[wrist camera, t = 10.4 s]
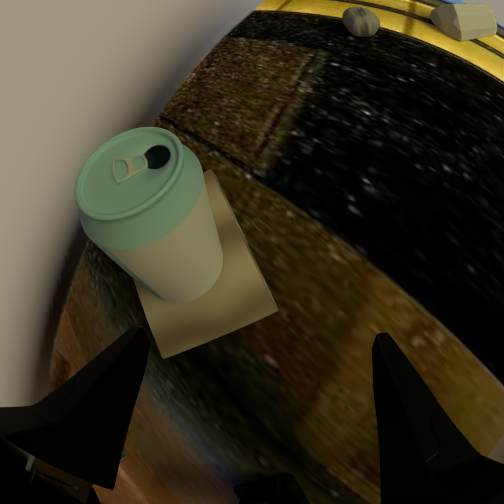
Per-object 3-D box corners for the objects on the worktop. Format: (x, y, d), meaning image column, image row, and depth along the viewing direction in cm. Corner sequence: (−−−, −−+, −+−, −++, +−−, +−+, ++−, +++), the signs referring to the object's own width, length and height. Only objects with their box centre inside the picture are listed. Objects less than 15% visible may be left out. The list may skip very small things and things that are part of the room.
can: (171, 215, 24) (124, 111, 13) (239, 245, 23) (225, 133, 12) (128, 280, 22) (42, 201, 11) (196, 320, 20) (132, 259, 9)
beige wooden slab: (279, 310, 23) (276, 311, 21) (175, 354, 25) (162, 358, 22) (218, 179, 27) (210, 168, 24) (131, 230, 28) (118, 224, 26)
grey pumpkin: (376, 47, 26) (380, 19, 21) (338, 37, 27) (339, 9, 22) (379, 29, 27) (382, 4, 22) (344, 20, 28) (345, -5, 23)
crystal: (470, 0, 21) (418, 0, 23) (495, 6, 16) (451, 4, 18) (476, 27, 26) (427, 36, 28) (500, 35, 21) (459, 43, 23)
